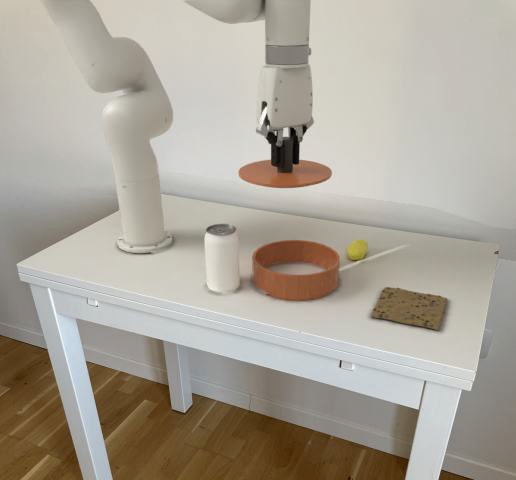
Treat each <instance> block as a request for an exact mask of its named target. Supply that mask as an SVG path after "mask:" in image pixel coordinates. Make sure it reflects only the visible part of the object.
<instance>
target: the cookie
mask: <svg viewBox="0 0 516 480" xmlns="http://www.w3.org/2000/svg"><path fill="white" fill-rule="evenodd" d="M447 303H448V297H443V296H442V295H436V294H431V293H424V292H417V291H413V290H412V291H411V290H407V289H403V288H400V287H390V286H385V287H384V288H383V290H381V293H380V296H379V298H378V299H377V302H376V304H375V307H374V308H373V309H372V312H371V318H373V319H384V320H388V321H393V322H397V323H401V324H405V325H410V326H418V327H423V328H427V329H432V330H434V331H440V329H441V325H442V322H443V318H444V314H445V311H446V306H447Z"/></svg>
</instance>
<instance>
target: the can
mask: <svg viewBox="0 0 516 480" xmlns="http://www.w3.org/2000/svg"><path fill="white" fill-rule="evenodd" d="M205 231H206V233H205V235H204V239H203V241H204V256H205V259H204V260H205V273H206V274H205V275H206V286H207V288H208V289H209V290H211V291H214V292H216V293H227V292H232V291H235V290H236V289H238V288H239V287H240V284H241V283H240V282H241V281H240V276H241V275H240V241H239V234H238V232H237V228H236V227H235V225H232V224H228V223H215V224H211V225H209V226H207V227H206V229H205Z"/></svg>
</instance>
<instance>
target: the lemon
mask: <svg viewBox="0 0 516 480" xmlns="http://www.w3.org/2000/svg"><path fill="white" fill-rule="evenodd" d="M368 249H369V245H368V242H367V240H365V239H362V238H361V239H360V238H358V239H356V240H353V241H352V242H351V243H350V244H349V246H348V248H347V250H346V254H347V257H348V258H349V260H351V261H358V260H359V261H360V260H363V259H364V257H365V255H366V254H367V253H368Z"/></svg>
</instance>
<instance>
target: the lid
mask: <svg viewBox="0 0 516 480" xmlns="http://www.w3.org/2000/svg"><path fill="white" fill-rule="evenodd" d="M293 142H294V139H293V138H292V137H289V136H283V140H282V146H284V147H285V158H284V168H278V167H275V166H272V165H271V159H265V160H257V161H254V162H253V161H252V162H250V163H247V164H245V165H243V166H241V167H240V168H239V169H238V172H237V173H238V177H239V178H240V179H241V180H242V181H244V182H246V183H249V184H252V185H256V186H260V187H265V188H272V189H297V188H305V187H310V186H315V185H319V184H322V183H324V182H326V181H329V180H330V179H331V177H332V175H333V170H332V169H331V168H330V167H329V166H327V165H325V164H324V163H319V162H316V161H311V160H307V159H299V164H298V165H295V164H293Z"/></svg>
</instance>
